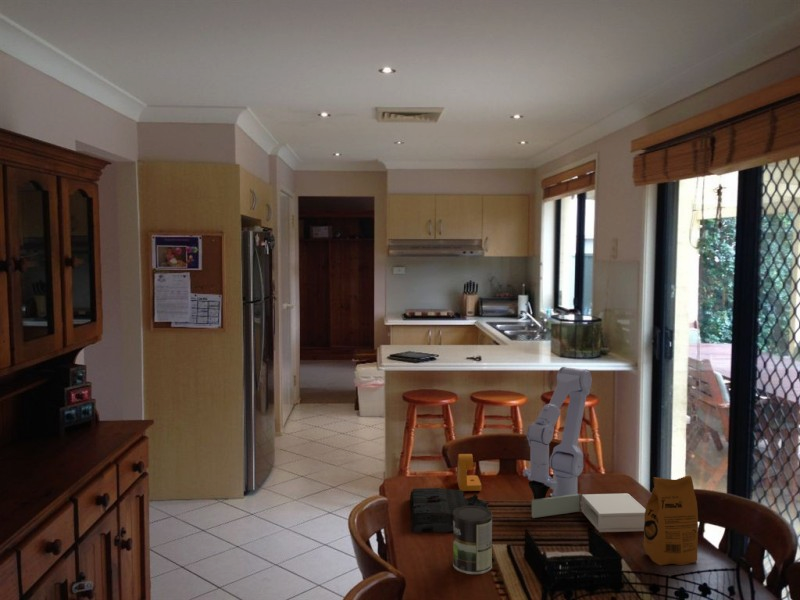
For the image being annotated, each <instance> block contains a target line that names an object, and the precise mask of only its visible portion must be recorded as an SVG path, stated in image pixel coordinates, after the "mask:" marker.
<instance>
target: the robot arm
mask: <svg viewBox="0 0 800 600" xmlns="http://www.w3.org/2000/svg"><path fill="white" fill-rule="evenodd" d="M592 381H593V378H592V374H591V372H590V370H589V369H588V368H587V369H586V368H584V369H583V368H572V367H568V366H567V367H566V366H561V367H560V368H559V370H558V371H557V375H556V383H557V384H556V386H555V389H554V391H553V393H552V396H551V398H550V401H549V403H547V404H544V405H543V407H542V409H541V410H540V412H539V413H538V417H536V420H535V422H533V423H531V424H530V425H529V426H528V427H527V429H526V430H527V431H526V439H527V440H528V446H529V448H530V449H529V453H530V457H529V459H530V461H529V464H530V469H529V468H528V469H527V468H526V469H523V470H522V476H523V477H527V480H529V481H528V486H529V488H530V490H531V492H532V494H533V495H532V496H533V499H541V498H547V497H546V496H547V494H548V491H549V489H550V490H552V493H550V494H549V496H550V497H556V496H564V495H571V494H578V477H579V476H580V475H581V474H582V472H583V471H584V453H583V452H582V450H580V448H579V447H578V443H579V439H580V438H579V437H580V433H581V428H582V421H583V418H584V412H585V407H586V402H587V401H586V399H587V397H588V396H590V393H591V387H592V383H593V382H592ZM568 396H569V402H568V407H567V411H566V417H565V422H564V427H563V433H562V438H561V442H560V443H559V444H557V445H556V446H554V447H553V450H552V452H551V454H550V443H551V442H552V440H553V437H554V431H555V426H556V423H557V421H558V420H559V418H560V416H561V411H560V408H561V407H562V405H563V404H564V402H565V400H567V398H568ZM550 469H551V470H552V474H553V476H552V477H551V476H550Z"/></svg>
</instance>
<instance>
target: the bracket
mask: <svg viewBox="0 0 800 600" xmlns="http://www.w3.org/2000/svg"><path fill="white" fill-rule="evenodd" d="M456 470H457V473H456V480H457V485H458V488H459V489H458V490H462V492H473V491H474V492H477V491H478V492H479V491H482V483H481V480H480V478H479V475H476V474H475V475H474V474H472V475H471V474H470V475H468V474H467V471H468V470H469V471H473V470H474V457H473V454H472V453H458V455H457V468H456Z"/></svg>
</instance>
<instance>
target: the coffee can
mask: <svg viewBox="0 0 800 600" xmlns="http://www.w3.org/2000/svg"><path fill="white" fill-rule="evenodd" d="M492 530H493V512H492V510H490V509H489V508H488V509H487V508H484V507H480V506H462V507H459V508H456V509H455V510H454V511H453V531H452V533H453V538H452V539H453V540H452V543H453V545H452V548H453V550H452V551H453V553H452V555H453V559H452V561H453V562H452V566H453V568H454V570H456V571H457V572H460V573H462V574H467V575H482V574H486V573H488V572H489V571H491V570H492V568H493V560H492V559H493V557H492V556H493V555H492V554H493V553H492V552H493V551H492V549H493V544H492V542H493V537H492V536H493V531H492Z"/></svg>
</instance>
